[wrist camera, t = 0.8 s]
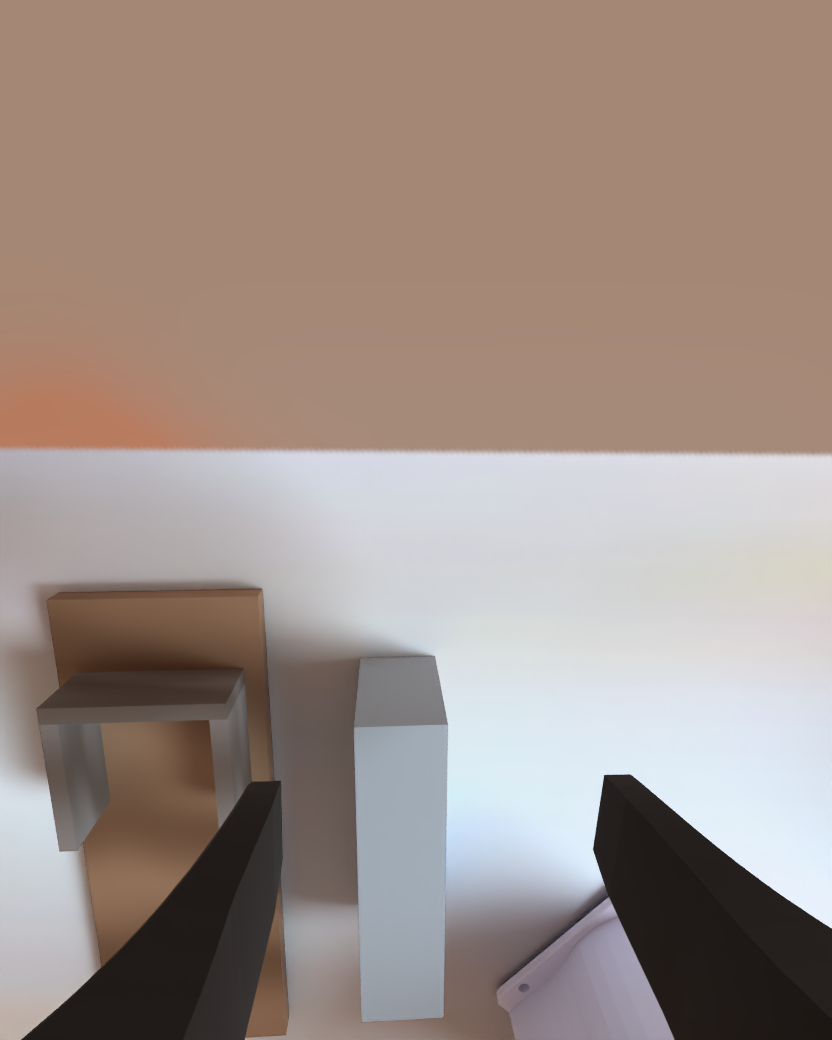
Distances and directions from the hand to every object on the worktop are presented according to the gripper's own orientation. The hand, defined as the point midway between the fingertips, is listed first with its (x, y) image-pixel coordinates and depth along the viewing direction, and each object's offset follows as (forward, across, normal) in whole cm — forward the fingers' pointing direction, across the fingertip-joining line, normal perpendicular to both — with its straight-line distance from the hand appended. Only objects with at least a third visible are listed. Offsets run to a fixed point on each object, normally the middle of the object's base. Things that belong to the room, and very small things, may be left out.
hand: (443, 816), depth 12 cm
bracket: (+10, +9, +10) cm, 17 cm away
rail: (+10, 0, +8) cm, 13 cm away
